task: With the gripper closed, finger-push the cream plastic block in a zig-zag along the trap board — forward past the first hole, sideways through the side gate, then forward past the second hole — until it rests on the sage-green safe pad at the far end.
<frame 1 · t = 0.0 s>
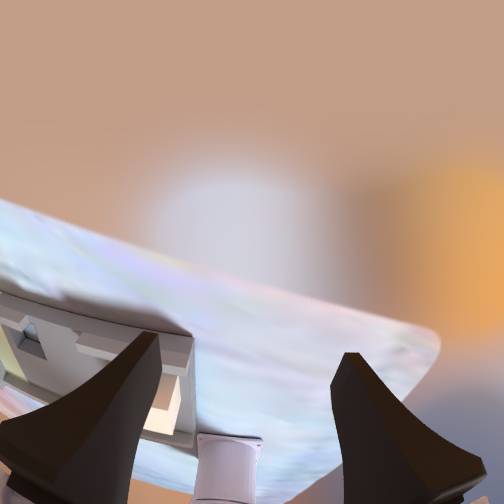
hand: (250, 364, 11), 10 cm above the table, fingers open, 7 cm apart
block: (157, 383, 23), point 2 cm above the table, touching board
board: (72, 360, 25), on the table
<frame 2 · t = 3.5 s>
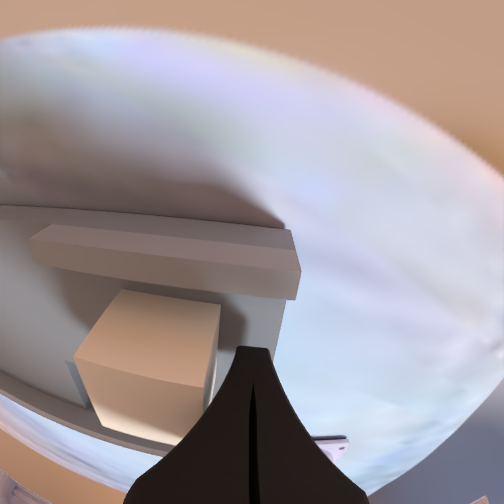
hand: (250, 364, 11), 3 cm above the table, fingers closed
block: (170, 336, 11), point 2 cm above the table, touching board, gripper
board: (39, 315, 14), on the table
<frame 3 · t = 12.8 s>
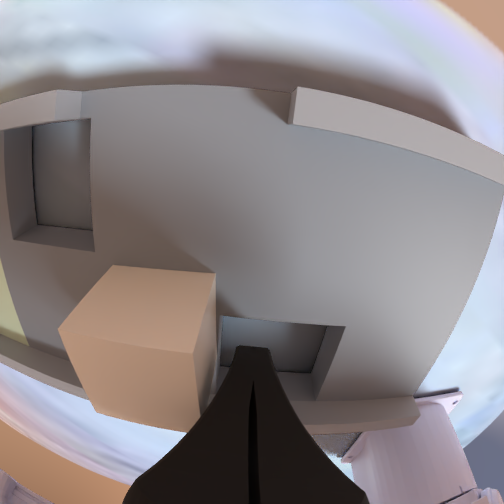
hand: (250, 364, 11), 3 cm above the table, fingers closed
block: (166, 314, 11), point 2 cm above the table, touching gripper
board: (158, 259, 12), on the table
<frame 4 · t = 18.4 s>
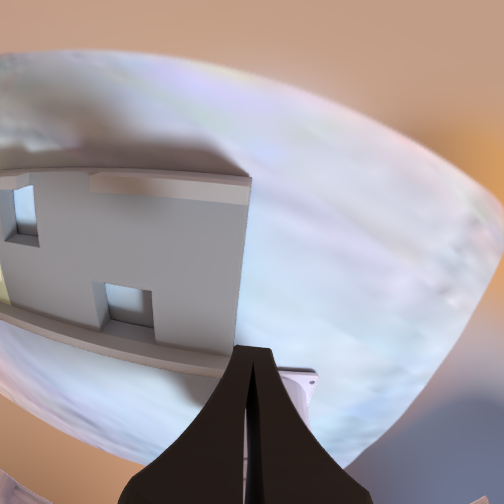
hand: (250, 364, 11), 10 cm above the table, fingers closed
board: (72, 252, 21), on the table
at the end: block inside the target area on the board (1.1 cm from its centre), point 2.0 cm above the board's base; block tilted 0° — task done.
